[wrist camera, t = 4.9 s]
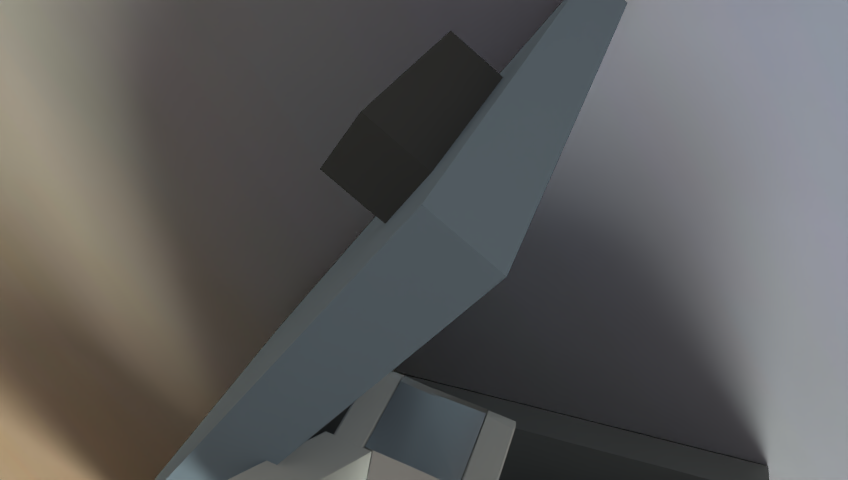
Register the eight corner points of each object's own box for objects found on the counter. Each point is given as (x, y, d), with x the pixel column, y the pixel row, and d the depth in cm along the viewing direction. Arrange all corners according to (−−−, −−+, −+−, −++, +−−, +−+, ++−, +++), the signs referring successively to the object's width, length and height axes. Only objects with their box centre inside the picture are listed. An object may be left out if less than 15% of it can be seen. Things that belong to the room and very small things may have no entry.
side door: (300, 345, 23) (104, 606, 16) (251, 306, 23) (28, 552, 15) (627, 2, 13) (506, 276, 6) (546, -73, 13) (315, 114, 6)
